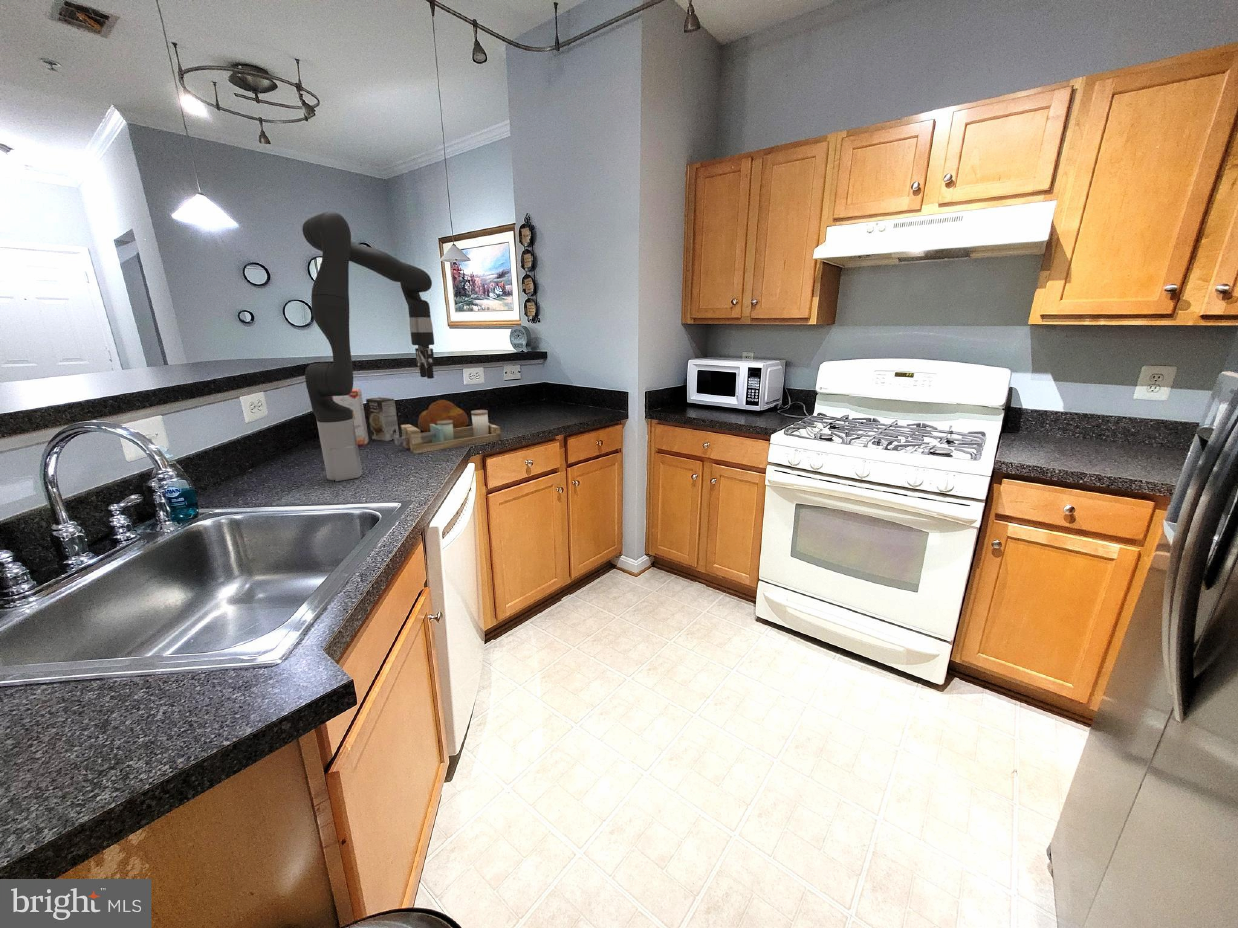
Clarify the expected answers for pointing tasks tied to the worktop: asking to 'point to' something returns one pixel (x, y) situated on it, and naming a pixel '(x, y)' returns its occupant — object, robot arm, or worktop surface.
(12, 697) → the worktop surface
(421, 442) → the wooden tray
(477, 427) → the jar cream
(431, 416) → the bread
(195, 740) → the worktop surface
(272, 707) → the worktop surface
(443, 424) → the jar sage
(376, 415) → the coffee box
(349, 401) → the cracker box
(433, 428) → the pusher
